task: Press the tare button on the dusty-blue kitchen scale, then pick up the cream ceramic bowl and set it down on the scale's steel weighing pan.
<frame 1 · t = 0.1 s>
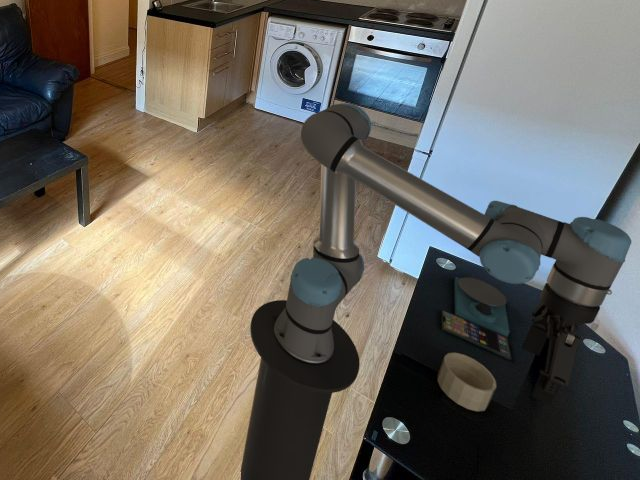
hand: (535, 373, 85), 18 cm above the table, tool pointing down, fingers open, 13 cm apart
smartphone: (473, 335, 115), on the table
scale pan: (481, 292, 126), resting on scale
scale: (478, 306, 125), on the table
bowl: (461, 392, 99), on the table
tare button: (483, 309, 119), point 4 cm above the table, slide at 0.1 cm
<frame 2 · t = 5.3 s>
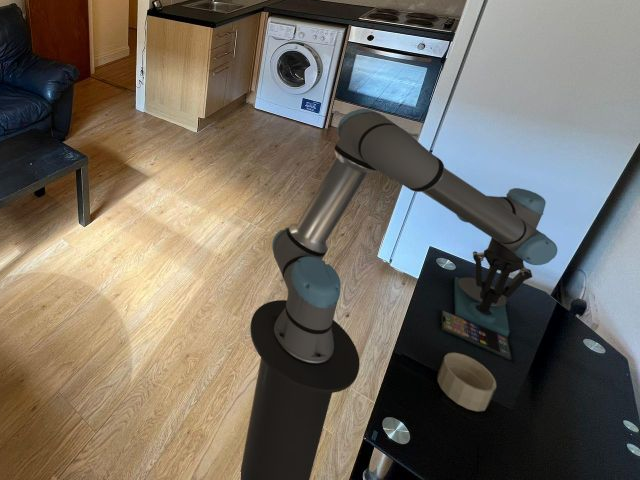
hand: (484, 308, 119), 4 cm above the table, tool pointing down, fingers closed
tare button: (483, 311, 120), point 3 cm above the table, slide at -0.7 cm, touching gripper
everything else where it was.
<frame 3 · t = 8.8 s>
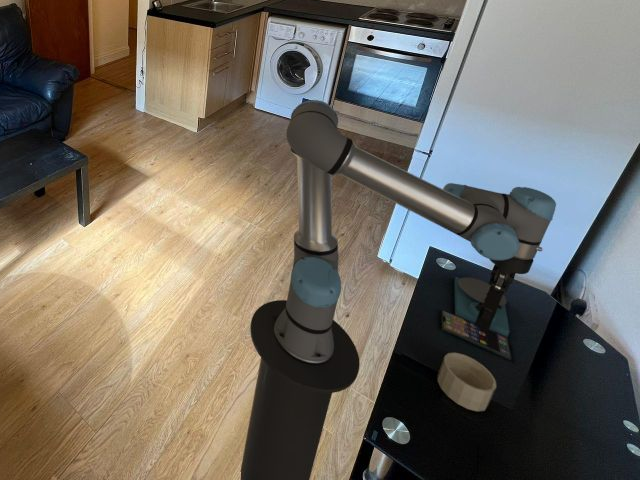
hand: (481, 327, 102), 13 cm above the table, tool pointing down, fingers closed
tare button: (483, 309, 119), point 4 cm above the table, slide at 0.1 cm
everything else where it was.
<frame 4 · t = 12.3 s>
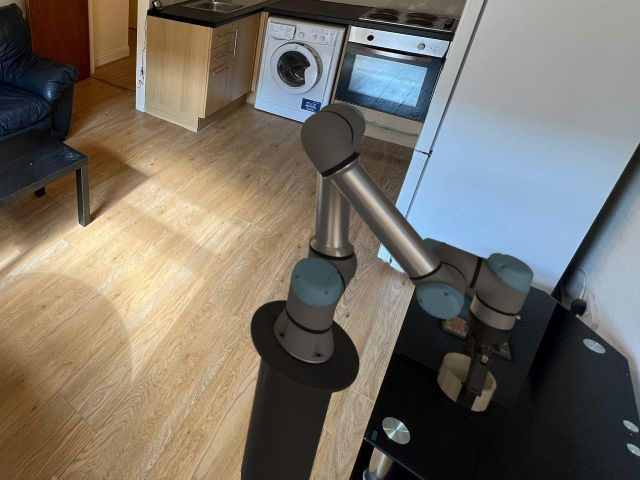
hand: (462, 388, 99), 1 cm above the table, tool pointing down, fingers closed on bowl, 10 cm apart
bowl: (461, 392, 99), on the table, touching gripper
everything else where it was.
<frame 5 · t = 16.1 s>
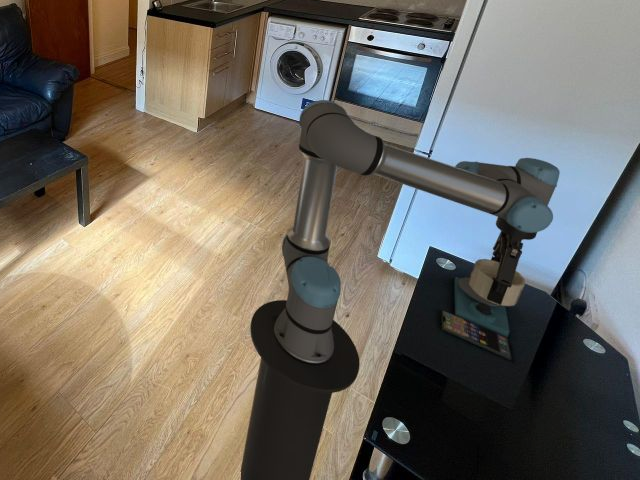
hand: (492, 289, 108), 18 cm above the table, tool pointing down, fingers closed on bowl, 10 cm apart
bowl: (491, 293, 108), point 17 cm above the table, touching gripper
everything else where it was.
when the fingers open (5 cm above the table, at t = 20.2 s): bowl stays where it is, resting on scale pan.
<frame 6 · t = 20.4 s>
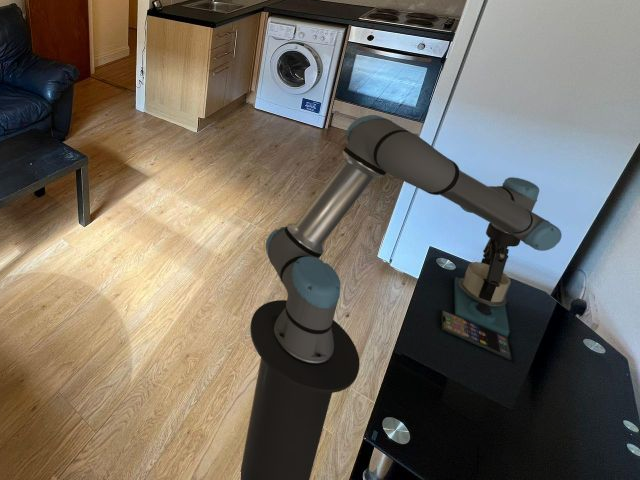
hand: (483, 287, 126), 5 cm above the table, tool pointing down, fingers open, 11 cm apart
bowl: (482, 291, 126), point 4 cm above the table, touching scale pan
everything else where it was.
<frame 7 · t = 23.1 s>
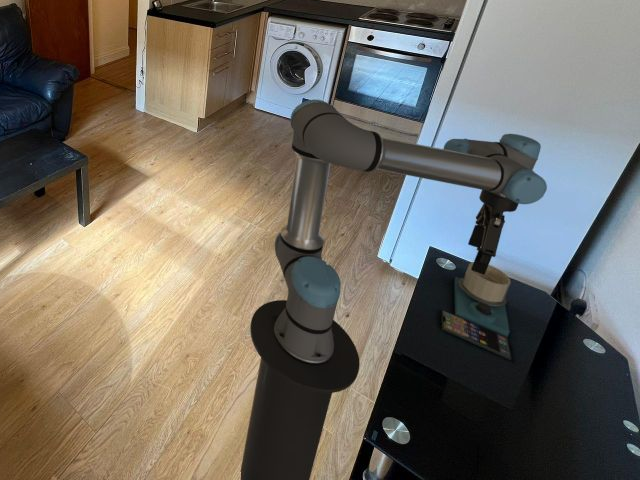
hand: (475, 258, 112), 23 cm above the table, tool pointing down, fingers open, 13 cm apart
nothing on the table moved.
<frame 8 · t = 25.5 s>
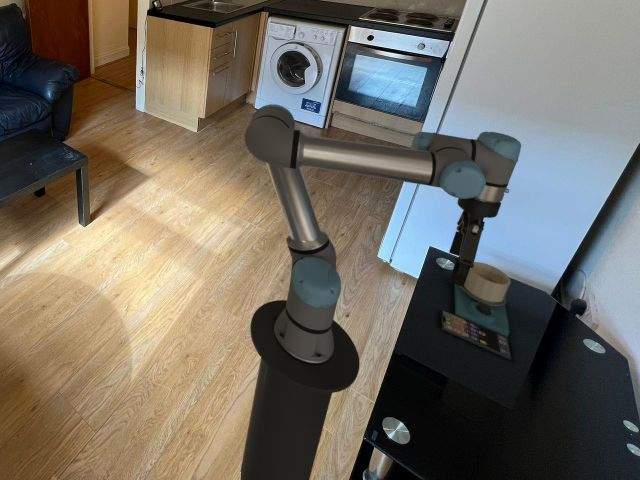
hand: (455, 268, 103), 27 cm above the table, tool pointing down, fingers open, 13 cm apart
nothing on the table moved.
at the end: tare button pushed in 0.8 cm at the most during the clip, back to where it started at the end; bowl 0.1 cm off-centre on the scale pan, point 0.4 cm above the scale pan's base; bowl tilted 0° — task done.
